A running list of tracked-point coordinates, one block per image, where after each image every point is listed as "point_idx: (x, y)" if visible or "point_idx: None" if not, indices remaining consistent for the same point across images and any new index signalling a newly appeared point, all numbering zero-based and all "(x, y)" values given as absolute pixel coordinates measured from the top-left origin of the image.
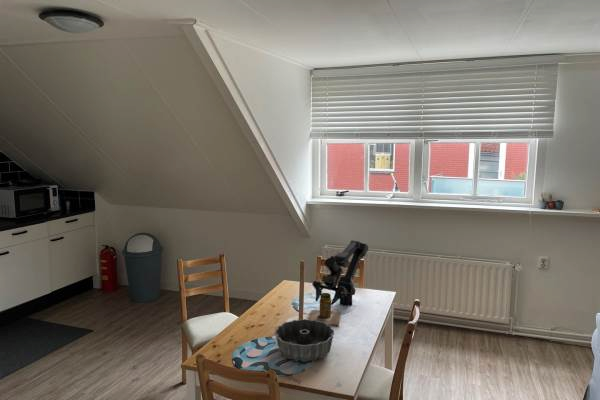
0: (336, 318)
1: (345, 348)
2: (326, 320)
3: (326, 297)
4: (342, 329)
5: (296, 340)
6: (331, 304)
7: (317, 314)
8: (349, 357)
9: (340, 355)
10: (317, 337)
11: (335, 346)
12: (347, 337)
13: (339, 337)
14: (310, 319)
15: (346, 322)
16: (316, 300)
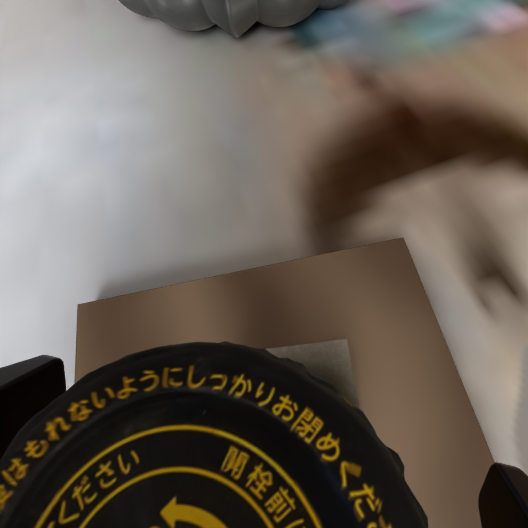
0: None
1: (34, 60)
2: None
3: (117, 366)
4: (53, 277)
5: (335, 4)
6: (57, 360)
7: None
8: (16, 7)
9: (61, 5)
10: (199, 15)
11: (93, 57)
12: (15, 171)
13: (74, 152)
14: (404, 314)
15: None
16: (491, 470)
